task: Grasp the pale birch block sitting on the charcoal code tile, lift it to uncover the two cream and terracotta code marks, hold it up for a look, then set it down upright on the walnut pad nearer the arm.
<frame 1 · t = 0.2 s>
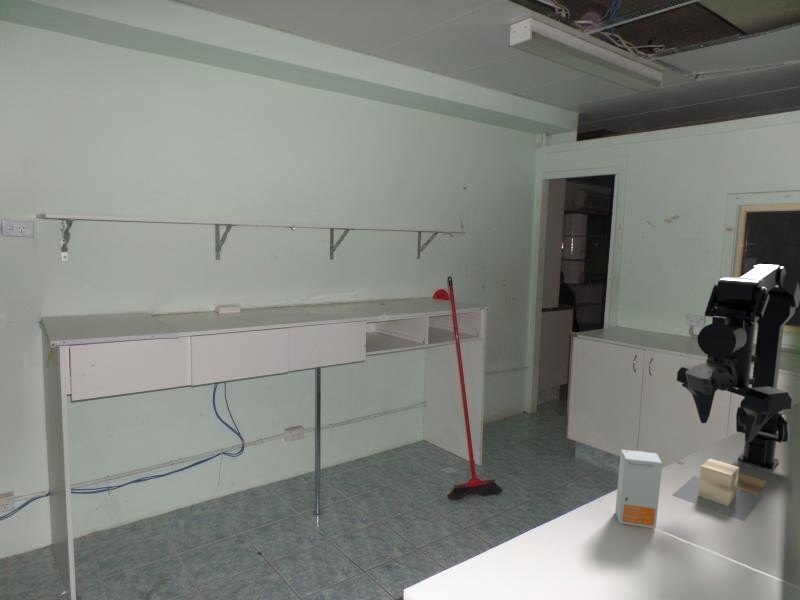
hand: (725, 431, 97), 14 cm above the table, fingers open, 9 cm apart
birch block: (716, 496, 101), resting on code tile
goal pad: (738, 482, 107), on the table
skincare box: (635, 521, 92), on the table
code tile: (716, 497, 101), on the table
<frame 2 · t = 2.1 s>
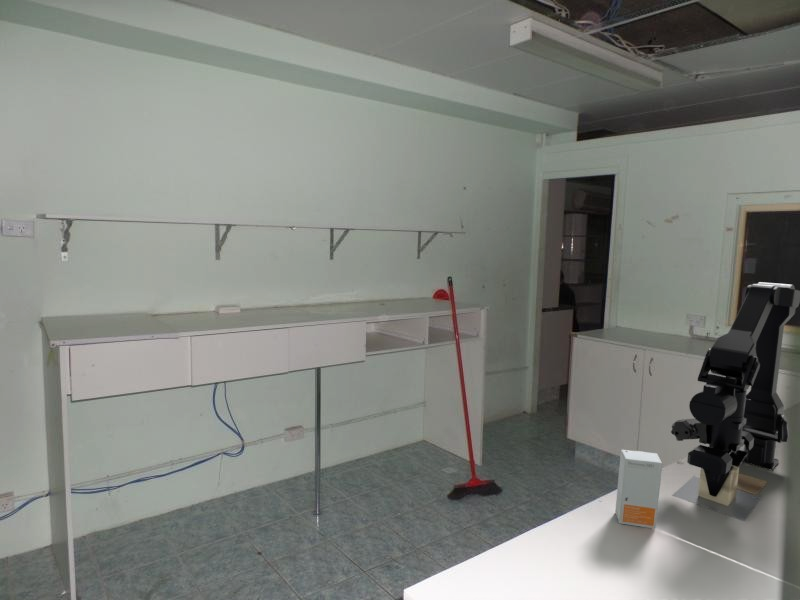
hand: (717, 491, 101), 1 cm above the table, fingers closed on birch block, 5 cm apart
birch block: (716, 496, 101), resting on code tile, touching gripper
everything else where it was.
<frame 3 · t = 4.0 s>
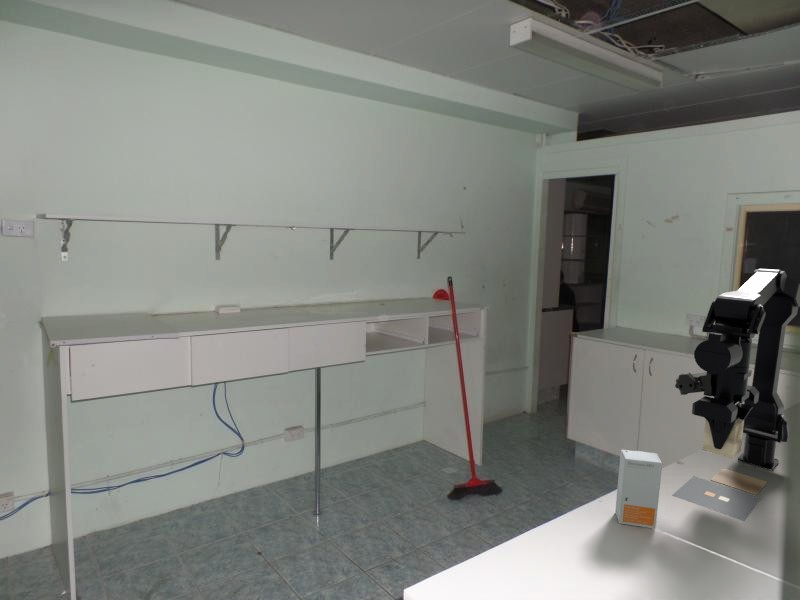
hand: (722, 444, 99), 11 cm above the table, fingers closed on birch block, 5 cm apart
birch block: (721, 450, 100), point 9 cm above the table, touching gripper
everything else where it was.
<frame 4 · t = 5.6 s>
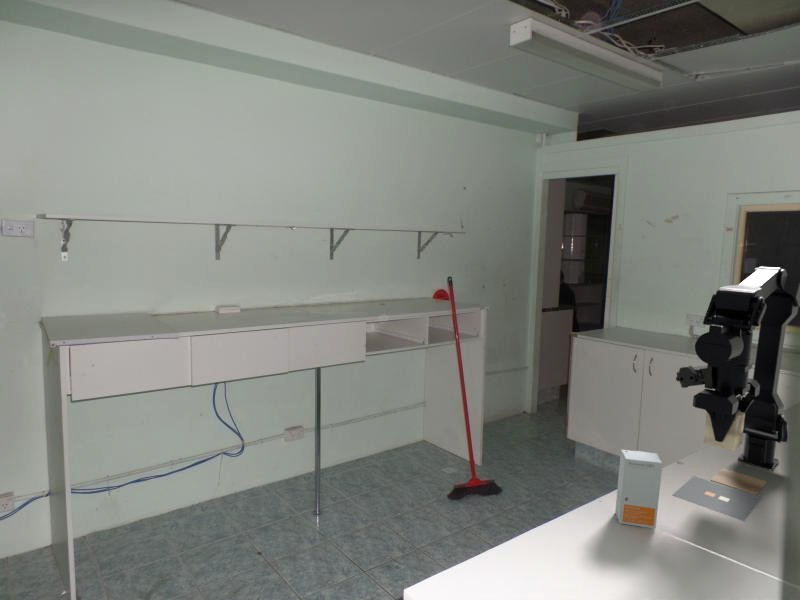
hand: (723, 437, 99), 12 cm above the table, fingers closed on birch block, 5 cm apart
birch block: (722, 443, 99), point 11 cm above the table, touching gripper
everything else where it was.
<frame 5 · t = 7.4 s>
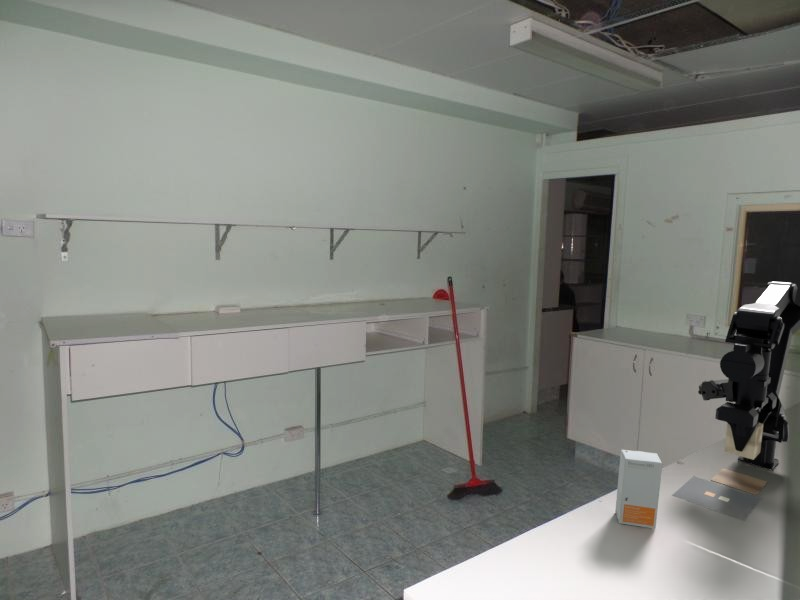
hand: (742, 447, 106), 7 cm above the table, fingers closed on birch block, 5 cm apart
birch block: (742, 452, 106), point 6 cm above the table, touching gripper
everything else where it was.
when the fingers open (2 cm above the table, at t = 9.1 s): birch block drops 1 cm, resting on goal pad.
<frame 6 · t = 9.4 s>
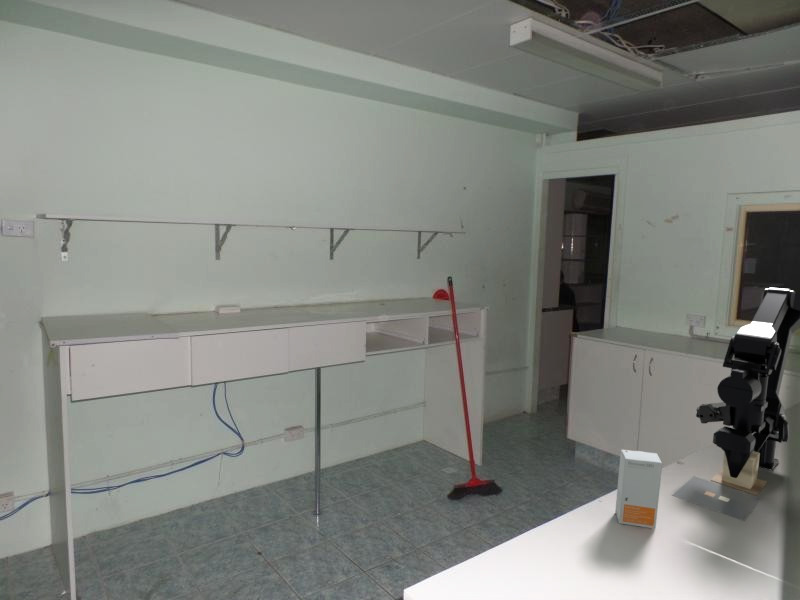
hand: (740, 470, 107), 2 cm above the table, fingers open, 9 cm apart
birch block: (739, 480, 107), resting on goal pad
everything else where it was.
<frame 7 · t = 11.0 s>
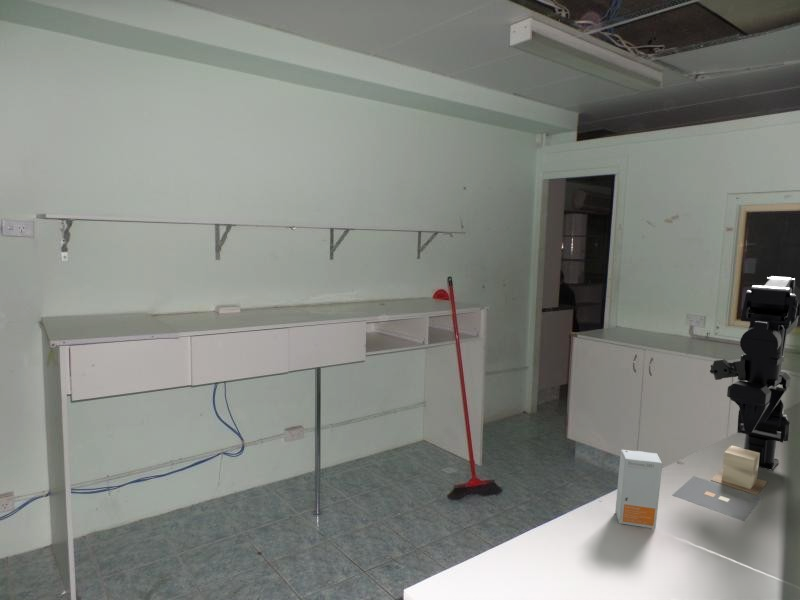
hand: (755, 426, 105), 12 cm above the table, fingers open, 9 cm apart
nothing on the table moved.
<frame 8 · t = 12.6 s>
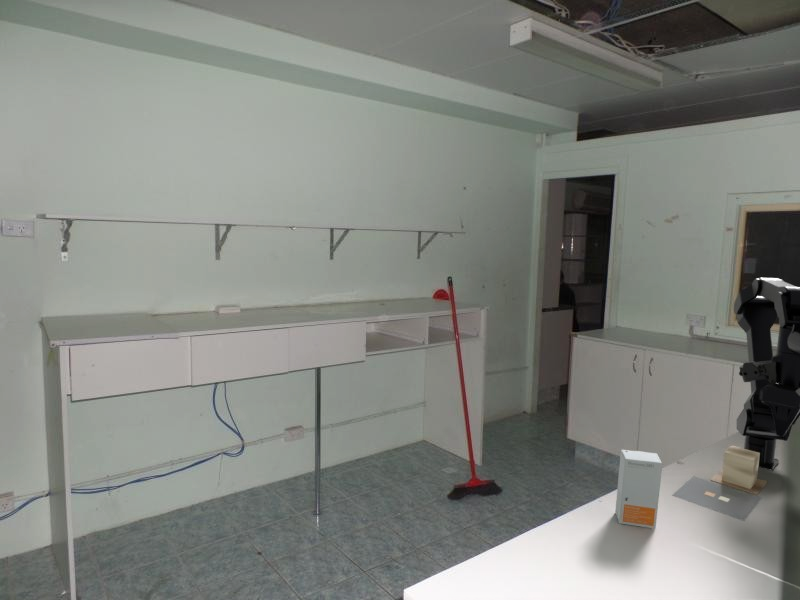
hand: (785, 429, 104), 12 cm above the table, fingers open, 9 cm apart
nothing on the table moved.
at the end: birch block 0.1 cm off-centre on the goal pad, point 0.3 cm above the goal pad's base; birch block tilted 0°; the gripper is holding nothing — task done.
